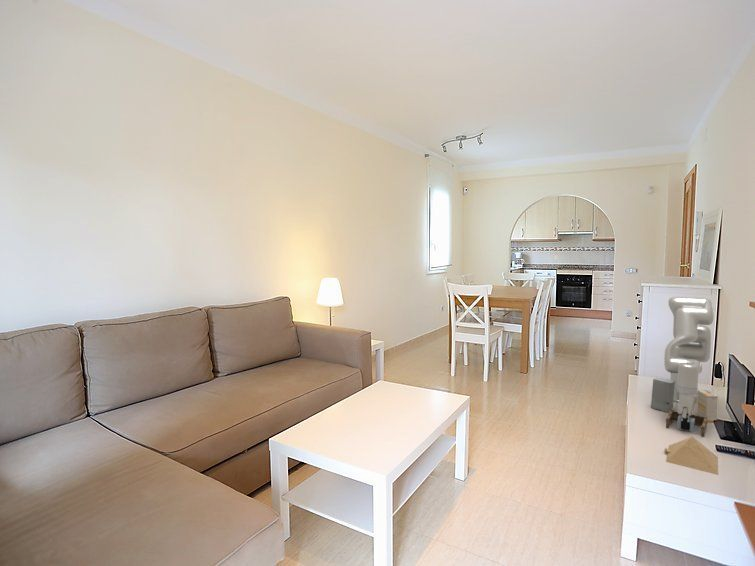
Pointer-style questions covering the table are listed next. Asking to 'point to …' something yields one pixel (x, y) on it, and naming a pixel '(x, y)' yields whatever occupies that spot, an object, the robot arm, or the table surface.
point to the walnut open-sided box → (698, 419)
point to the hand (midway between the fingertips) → (685, 427)
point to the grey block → (691, 420)
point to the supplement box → (707, 405)
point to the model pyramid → (692, 455)
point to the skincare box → (662, 394)
